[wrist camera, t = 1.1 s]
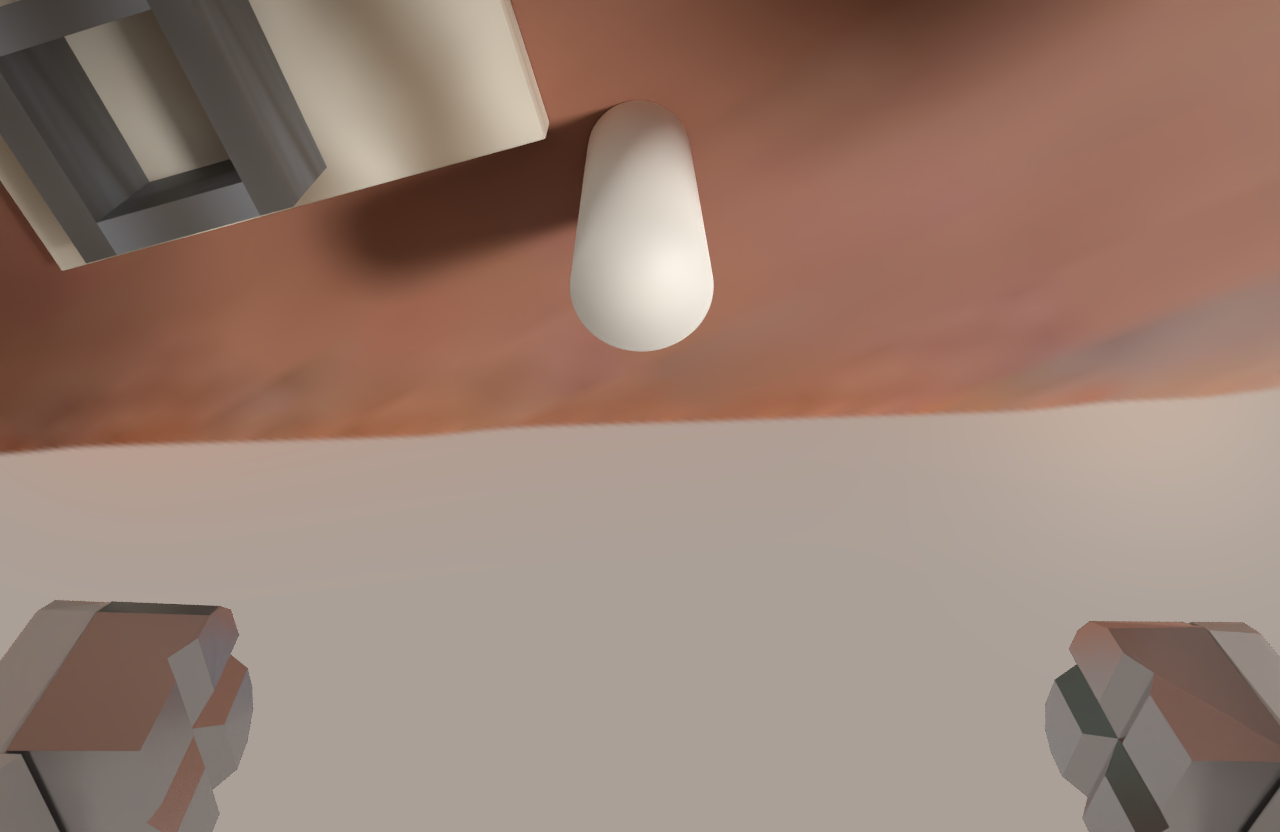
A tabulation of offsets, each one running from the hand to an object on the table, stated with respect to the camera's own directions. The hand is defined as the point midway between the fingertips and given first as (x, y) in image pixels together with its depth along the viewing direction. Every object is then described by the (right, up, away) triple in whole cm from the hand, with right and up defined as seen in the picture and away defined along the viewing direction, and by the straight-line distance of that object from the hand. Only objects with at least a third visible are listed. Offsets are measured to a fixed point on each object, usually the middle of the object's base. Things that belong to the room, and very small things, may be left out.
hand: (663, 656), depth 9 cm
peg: (0, +13, +26) cm, 29 cm away
